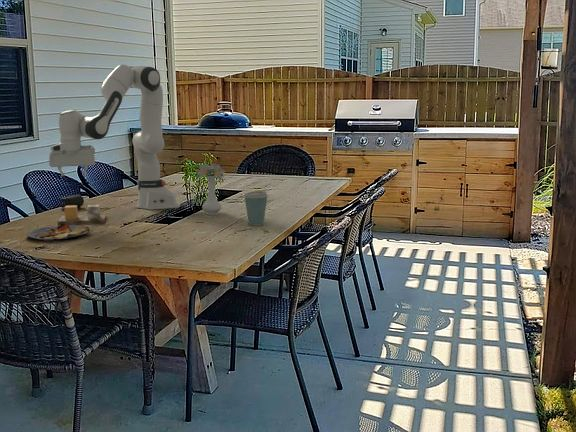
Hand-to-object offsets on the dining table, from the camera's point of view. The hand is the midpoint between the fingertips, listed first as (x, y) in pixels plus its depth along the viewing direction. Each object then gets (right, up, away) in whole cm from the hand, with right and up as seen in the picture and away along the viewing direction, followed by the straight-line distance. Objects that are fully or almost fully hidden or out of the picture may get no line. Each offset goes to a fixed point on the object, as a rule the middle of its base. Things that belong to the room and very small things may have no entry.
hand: (73, 175), depth 303 cm
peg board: (+5, -21, -1) cm, 22 cm away
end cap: (-11, -15, +30) cm, 36 cm away
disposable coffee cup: (+85, -23, -7) cm, 88 cm away
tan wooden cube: (0, -20, -2) cm, 20 cm away
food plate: (+4, -27, -32) cm, 42 cm away
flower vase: (+62, -18, +19) cm, 67 cm away
